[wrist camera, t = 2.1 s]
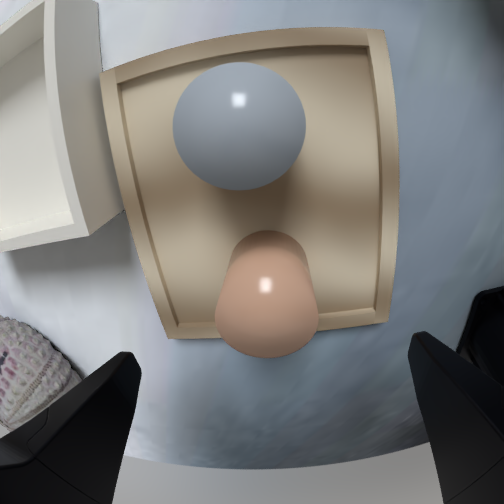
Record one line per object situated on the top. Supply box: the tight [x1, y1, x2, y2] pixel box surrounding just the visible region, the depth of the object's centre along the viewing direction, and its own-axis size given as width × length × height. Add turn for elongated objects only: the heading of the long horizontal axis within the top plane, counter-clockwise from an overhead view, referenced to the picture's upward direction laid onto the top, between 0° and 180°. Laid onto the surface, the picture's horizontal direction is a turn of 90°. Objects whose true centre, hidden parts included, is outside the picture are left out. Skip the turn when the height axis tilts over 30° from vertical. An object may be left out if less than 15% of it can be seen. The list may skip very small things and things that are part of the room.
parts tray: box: [99, 27, 399, 339], centre depth 12 cm, size 14×12×1 cm
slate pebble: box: [173, 62, 306, 190], centre depth 9 cm, size 4×4×4 cm
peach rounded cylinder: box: [215, 230, 319, 358], centre depth 12 cm, size 4×4×4 cm
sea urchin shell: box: [0, 315, 82, 432], centre depth 17 cm, size 13×14×8 cm
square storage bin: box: [0, 0, 125, 253], centre depth 10 cm, size 11×11×4 cm
